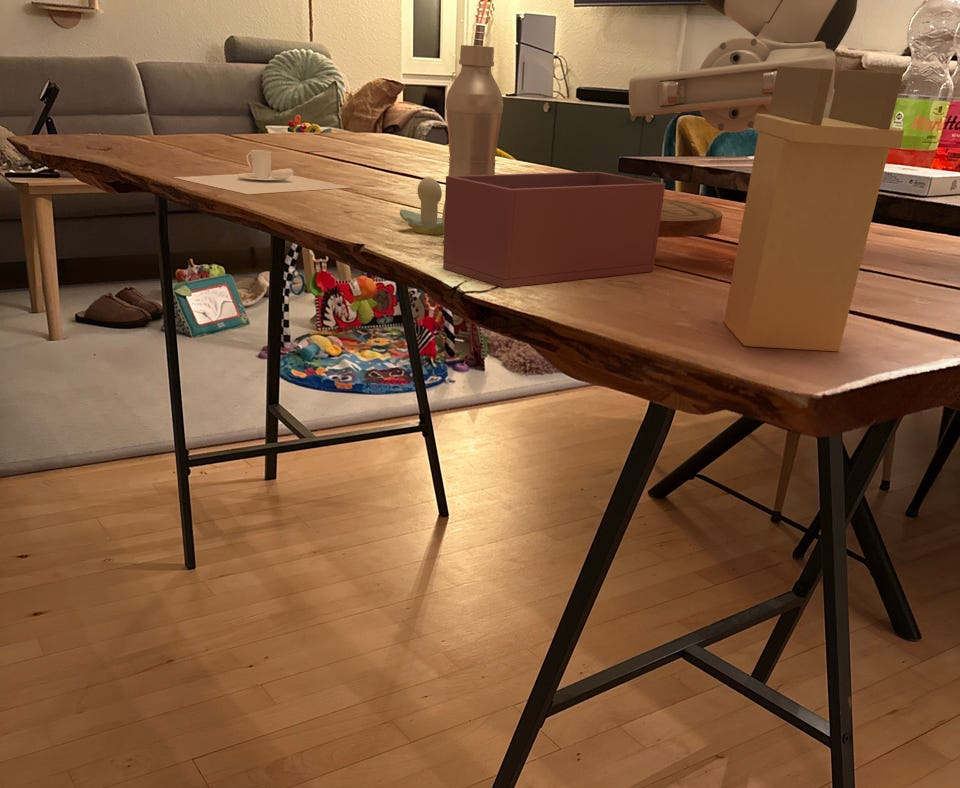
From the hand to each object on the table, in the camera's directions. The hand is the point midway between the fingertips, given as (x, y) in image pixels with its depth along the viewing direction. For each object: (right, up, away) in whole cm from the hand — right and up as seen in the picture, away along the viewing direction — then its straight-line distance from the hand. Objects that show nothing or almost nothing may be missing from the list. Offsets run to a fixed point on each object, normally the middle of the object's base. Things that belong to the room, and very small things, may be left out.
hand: (719, 88), depth 92 cm
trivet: (-1, +7, +45) cm, 46 cm away
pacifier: (-29, -2, +28) cm, 40 cm away
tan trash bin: (+3, -26, -9) cm, 28 cm away
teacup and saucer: (-57, +19, +59) cm, 84 cm away
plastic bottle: (-24, -6, +22) cm, 34 cm away
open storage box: (-15, -13, +11) cm, 23 cm away
